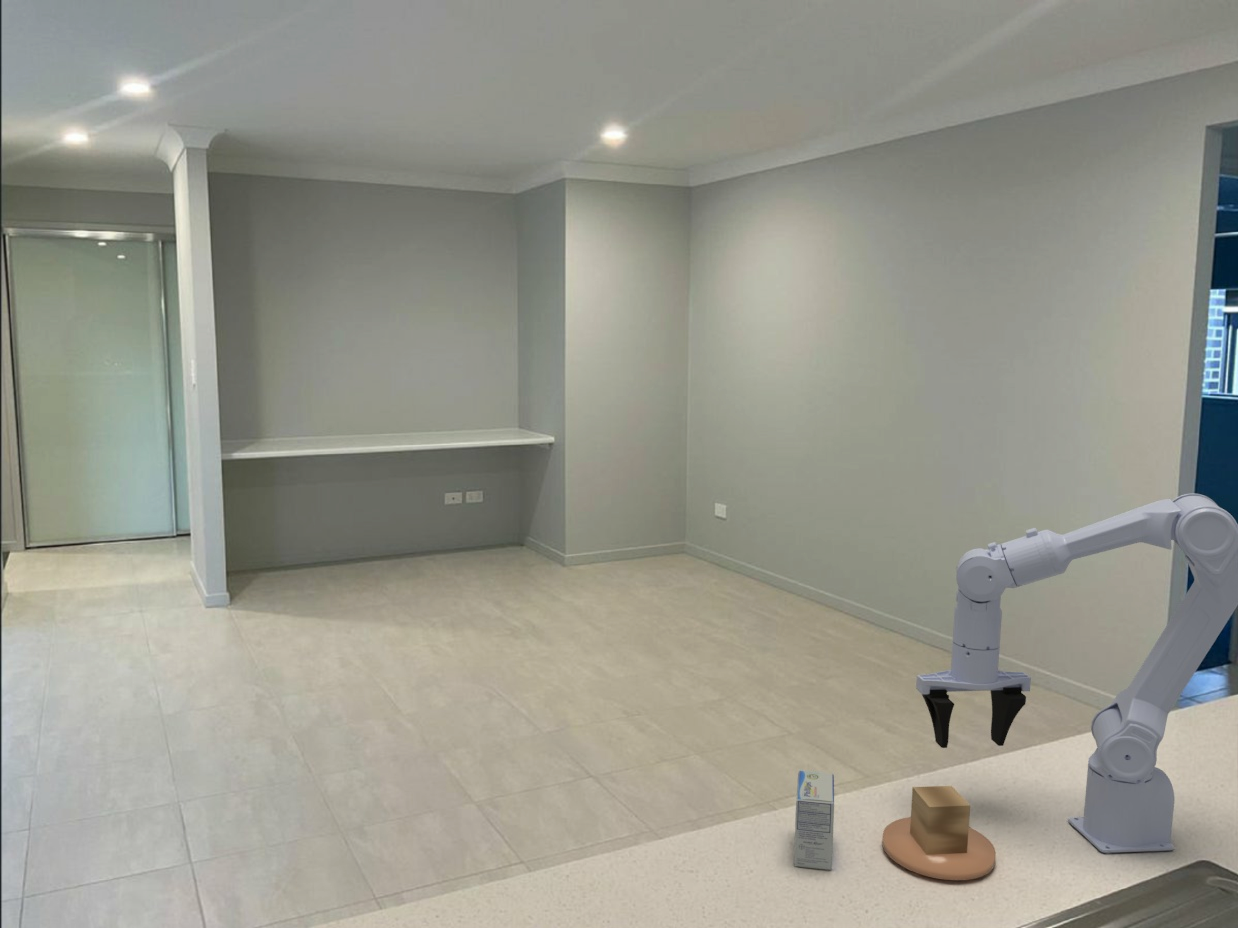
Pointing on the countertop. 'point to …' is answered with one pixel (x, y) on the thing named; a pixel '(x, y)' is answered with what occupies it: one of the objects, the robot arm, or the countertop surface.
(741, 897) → the countertop surface
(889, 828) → the peach round disc
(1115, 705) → the robot arm
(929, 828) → the oak block
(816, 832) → the medicine box
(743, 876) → the countertop surface
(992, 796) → the countertop surface
